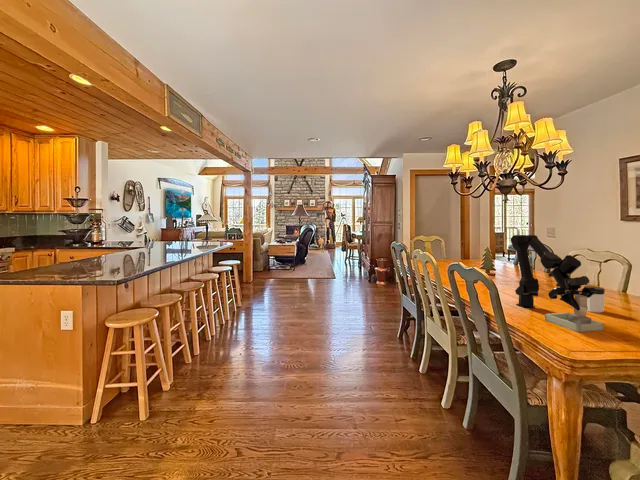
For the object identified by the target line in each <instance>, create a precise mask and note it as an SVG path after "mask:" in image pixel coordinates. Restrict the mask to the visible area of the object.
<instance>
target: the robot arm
mask: <svg viewBox="0 0 640 480" xmlns="http://www.w3.org/2000/svg"><path fill="white" fill-rule="evenodd" d="M510 243H511V245H512V248H513V250H515V251H516V254H517V260H518V265H519V270H520V271H519V272H520V277H521V278H520V280H519V281H518V283H519V285H518V287H517V288H516V289H515V295H517V296H518V303H515V305H516V306H519V307H522V308H525V309H528V308H529V309H530V308H536V305H534V301H535V299H534V297H536V296H537V295H538V292H539V290H540V285H539V280H538V278H535V277H534V276H533V273H532V268H531V263H530V259H529V258H530V257H529V253H528V250H529V247H531V248H532V250H533V251H534V252H535V253H536V254H537V256H539V258H540V259H539V260H540V263H541V264H542V266H543V268H544V269H546V270H550V271H549V273H548V277H549V278H551V277H553V279H554V280H555V282H556V284H555V286H556V287H553V288H552V289H551V290H550V291H549V292H548V297H549V299H550V300H556V299H557V298H558V296H560V298H559V301H562V302H564V303H566V304H567V305H569V306H571V308H573V309H574V308H575V309H577V310H580V307H579V305H578V304H577V302H576V300H575V295H583V296H586V297H587V298H590V297H591V296H592V295H594V294H595V293H596V292H597V291H596V290H595V288H593V287H584V286H588V284H589V283H590V279H589V278H588V276H587V275H582V276H579V277H578V276H577V277H571V276H570V275H571V274H573V273H574V272H575V271H577V269H579V268H580V267H581V266H582V262H581V260H579V259H578V258H576V257H574V256H572V255H570V254H567V255H565V256H564V258H561V257H560V256H559V255H557V254H556V253H553V252H551V251H550V250H549V249H548V248H547V247H546V246H545V244H543V243H542V241H541V240H540V239H539V237H538V236H537V235H535V234H527V235H526V234H513V236H512V237H511V238H510ZM582 286H583V288H582ZM581 288H582V289H581ZM587 310H588V308H587Z"/></svg>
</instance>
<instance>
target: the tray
mask: <svg viewBox="0 0 640 480" xmlns="http://www.w3.org/2000/svg"><path fill="white" fill-rule="evenodd" d="M569 314H572V313H571V312H556V313H555V312H554V313H553V312H552V313H545V314H544V321H545V322H549V323H552V324H554V325H556V326H559V327H563V328H565V329H568V330H570V331H573V332H576V333H588V332H591V333H592V332H602V331H604V330H605V323H604V322H600V321H597V320H594V319H591V324H579V325H578V324H575V323H572V322H569V321H568V317H569Z"/></svg>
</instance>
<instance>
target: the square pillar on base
mask: <svg viewBox="0 0 640 480" xmlns="http://www.w3.org/2000/svg"><path fill="white" fill-rule="evenodd" d="M574 299H575V300H576V302H577V304H578V305H579V307H580V310H577V309H575V308H573V313H571V314H569V317H568V321H569V322H572V323H575V324H578V325H579V324H591V320H593V319H592V317H588V316H587V312H588V311H587V297H586V296H583V295H575V296H574Z"/></svg>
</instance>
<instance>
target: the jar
mask: <svg viewBox="0 0 640 480" xmlns="http://www.w3.org/2000/svg"><path fill="white" fill-rule="evenodd" d="M584 287H593V288H595V290H596V291H597V292H596V293H595V294H594V295H592V296H591V297H590V298H587V308H588V310H587V312H589V313H597V314H602V313H604V311H605V302H606V300H605V299H606V297H605V296H606V293H605V291H606V290H605V288H604V287H601V286H592V285H591V286H590V285H583V288H584Z"/></svg>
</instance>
